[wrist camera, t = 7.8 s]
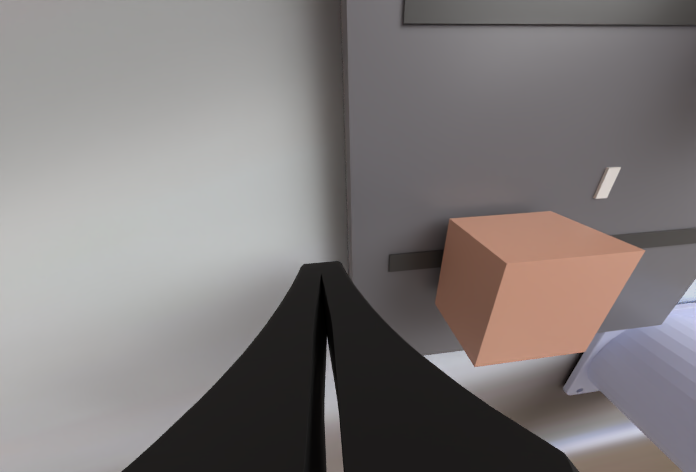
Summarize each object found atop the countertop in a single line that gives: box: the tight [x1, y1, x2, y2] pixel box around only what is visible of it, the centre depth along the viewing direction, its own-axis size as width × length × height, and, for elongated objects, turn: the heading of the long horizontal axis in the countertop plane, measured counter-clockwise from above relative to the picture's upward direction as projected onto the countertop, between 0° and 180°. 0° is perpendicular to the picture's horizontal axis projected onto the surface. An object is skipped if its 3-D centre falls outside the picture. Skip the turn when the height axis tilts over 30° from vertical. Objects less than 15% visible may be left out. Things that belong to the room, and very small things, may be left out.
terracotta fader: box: [435, 211, 645, 367], centre depth 9 cm, size 4×4×3 cm
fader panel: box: [341, 0, 696, 356], centre depth 10 cm, size 18×20×2 cm
